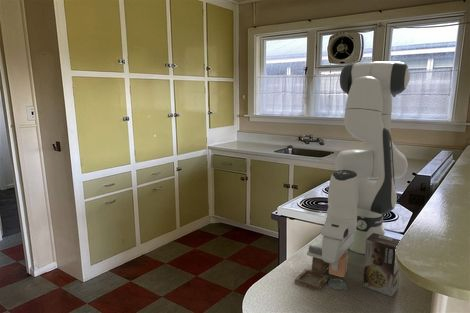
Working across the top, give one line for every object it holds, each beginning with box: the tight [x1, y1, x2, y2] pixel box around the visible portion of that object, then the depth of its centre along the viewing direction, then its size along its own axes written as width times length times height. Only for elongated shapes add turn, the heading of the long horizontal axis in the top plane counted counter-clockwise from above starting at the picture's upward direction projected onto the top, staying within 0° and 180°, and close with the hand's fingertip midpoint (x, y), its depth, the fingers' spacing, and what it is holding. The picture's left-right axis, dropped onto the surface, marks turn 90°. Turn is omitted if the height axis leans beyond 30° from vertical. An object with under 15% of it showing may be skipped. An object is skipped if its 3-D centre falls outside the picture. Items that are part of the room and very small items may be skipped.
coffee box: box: [362, 233, 401, 297], centre depth 104 cm, size 9×6×16 cm
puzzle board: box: [294, 257, 330, 291], centre depth 112 cm, size 18×8×6 cm, turn 144°
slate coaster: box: [327, 278, 347, 291], centre depth 107 cm, size 6×6×1 cm
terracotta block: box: [328, 252, 349, 278], centre depth 105 cm, size 4×4×6 cm
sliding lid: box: [306, 241, 323, 260], centre depth 115 cm, size 10×7×3 cm
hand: (338, 265), depth 105 cm, fingers closed on terracotta block, 5 cm apart
